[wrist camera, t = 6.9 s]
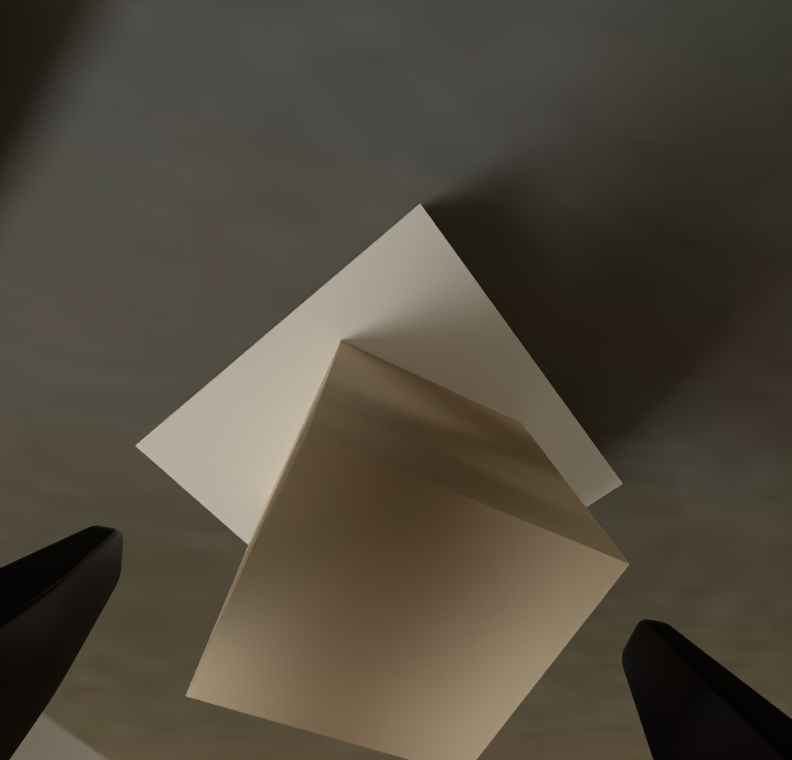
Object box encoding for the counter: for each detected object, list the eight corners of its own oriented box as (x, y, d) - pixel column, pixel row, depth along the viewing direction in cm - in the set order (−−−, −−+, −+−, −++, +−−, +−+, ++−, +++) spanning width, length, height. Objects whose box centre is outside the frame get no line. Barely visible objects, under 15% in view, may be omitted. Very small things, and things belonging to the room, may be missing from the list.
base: (411, 209, 12) (419, 203, 9) (581, 442, 14) (622, 483, 12) (179, 407, 13) (135, 445, 11) (368, 586, 16) (366, 649, 13)
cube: (521, 423, 11) (630, 564, 6) (430, 568, 12) (464, 775, 8) (340, 340, 10) (308, 431, 5) (264, 506, 12) (186, 696, 7)
